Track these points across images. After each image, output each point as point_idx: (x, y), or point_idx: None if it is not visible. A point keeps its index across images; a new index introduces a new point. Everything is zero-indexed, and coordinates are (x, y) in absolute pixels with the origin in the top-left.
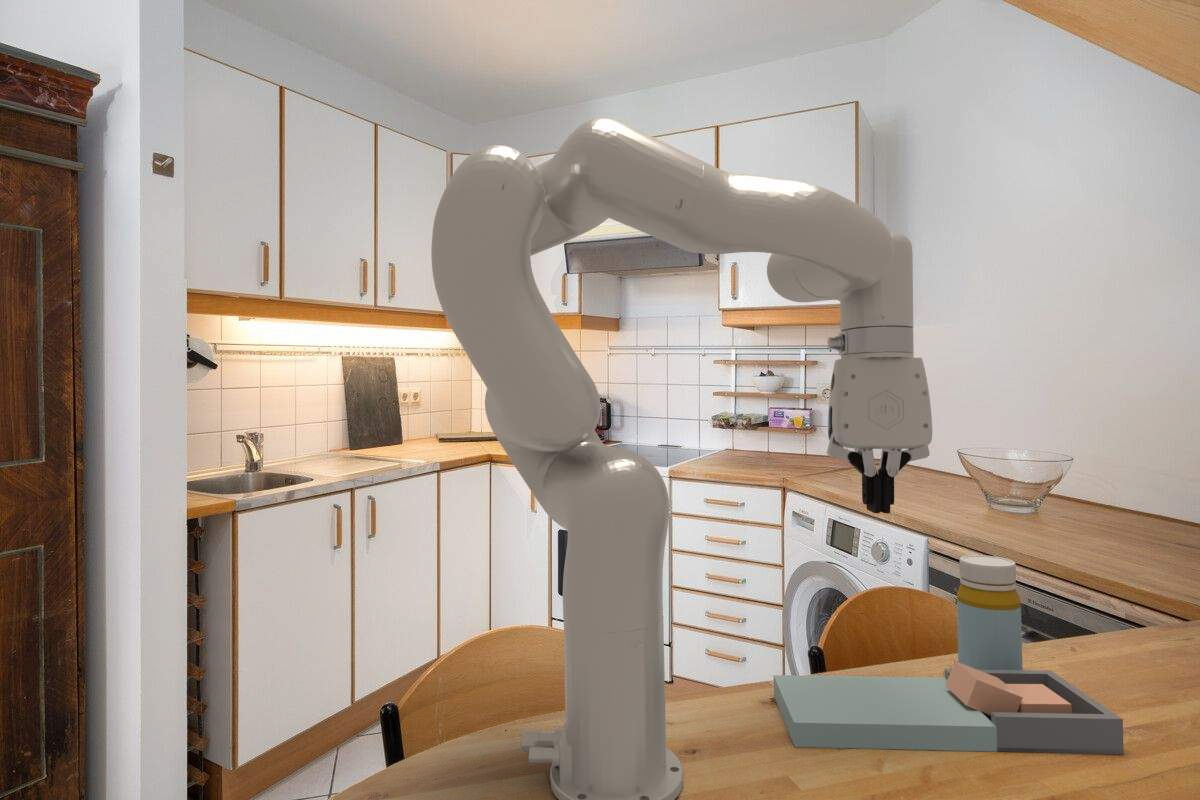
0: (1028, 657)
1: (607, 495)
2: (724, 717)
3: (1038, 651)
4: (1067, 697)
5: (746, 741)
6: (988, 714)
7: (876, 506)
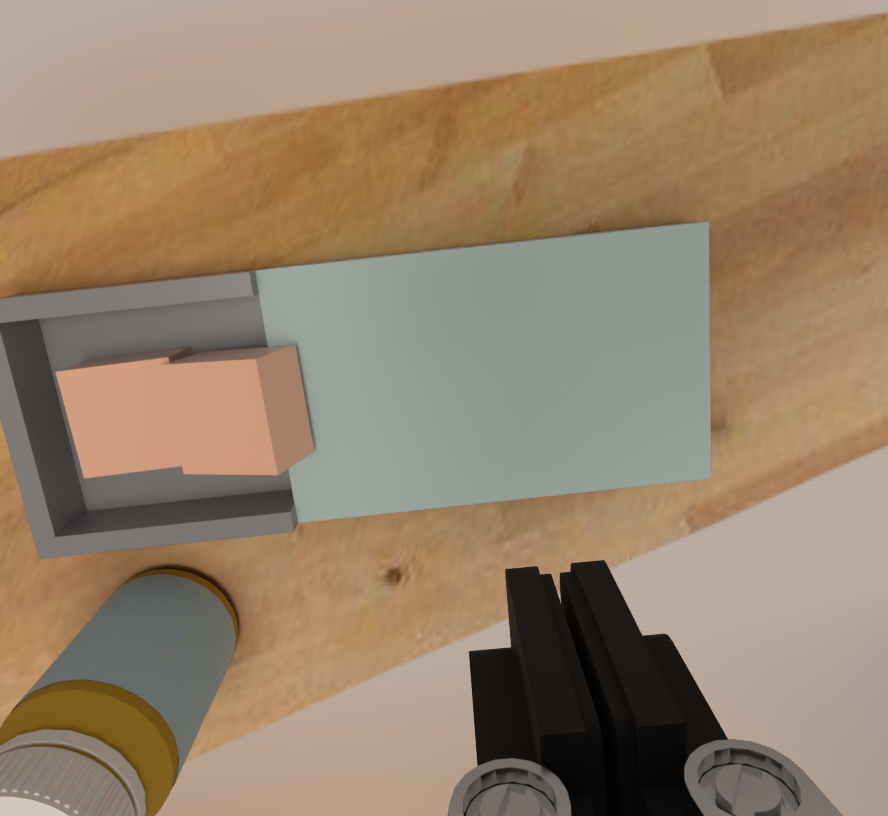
0: None
1: None
2: (820, 338)
3: None
4: (46, 452)
5: (787, 232)
6: None
7: (605, 576)
